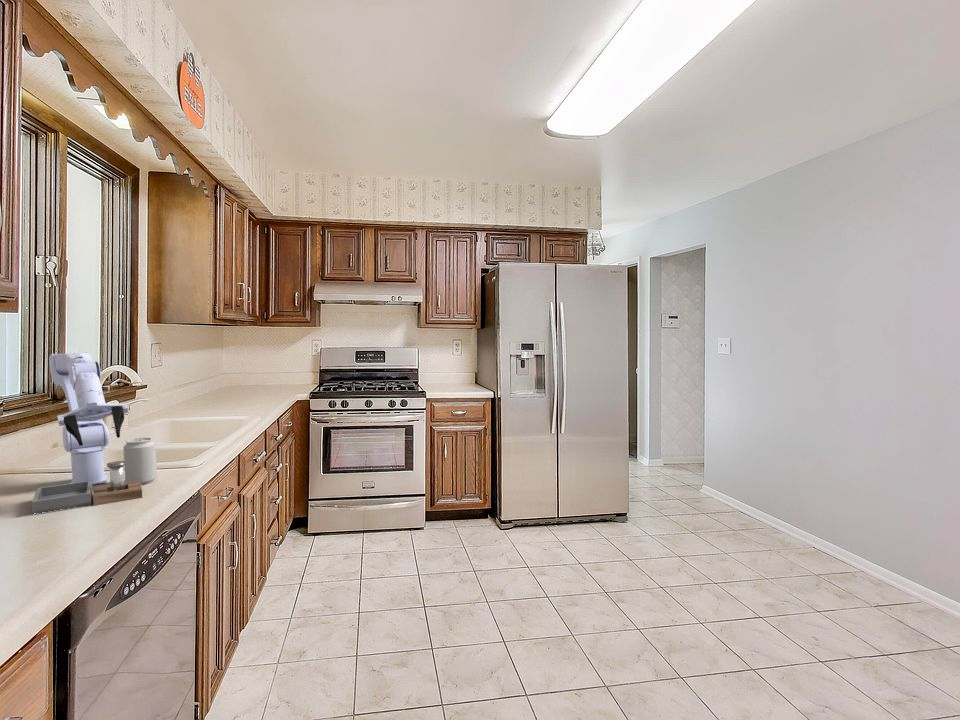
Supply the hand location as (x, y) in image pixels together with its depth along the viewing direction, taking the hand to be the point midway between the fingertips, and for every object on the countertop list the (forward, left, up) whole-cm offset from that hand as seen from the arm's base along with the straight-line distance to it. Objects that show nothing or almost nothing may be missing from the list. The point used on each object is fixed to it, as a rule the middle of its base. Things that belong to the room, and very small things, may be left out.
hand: (99, 439), depth 133 cm
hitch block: (-2, +3, -15) cm, 16 cm away
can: (-13, +9, -16) cm, 22 cm away
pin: (-2, +3, -16) cm, 16 cm away
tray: (-4, -8, -15) cm, 18 cm away
